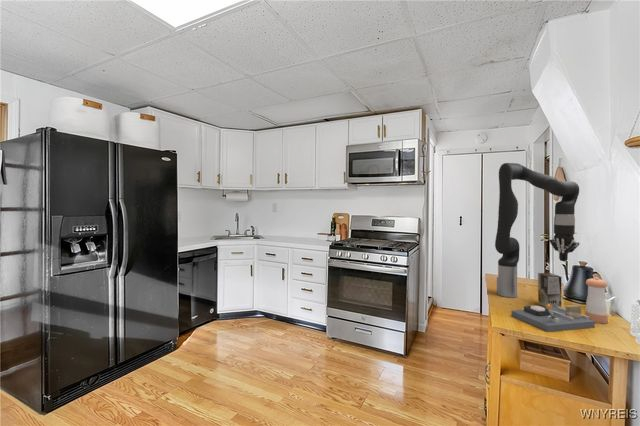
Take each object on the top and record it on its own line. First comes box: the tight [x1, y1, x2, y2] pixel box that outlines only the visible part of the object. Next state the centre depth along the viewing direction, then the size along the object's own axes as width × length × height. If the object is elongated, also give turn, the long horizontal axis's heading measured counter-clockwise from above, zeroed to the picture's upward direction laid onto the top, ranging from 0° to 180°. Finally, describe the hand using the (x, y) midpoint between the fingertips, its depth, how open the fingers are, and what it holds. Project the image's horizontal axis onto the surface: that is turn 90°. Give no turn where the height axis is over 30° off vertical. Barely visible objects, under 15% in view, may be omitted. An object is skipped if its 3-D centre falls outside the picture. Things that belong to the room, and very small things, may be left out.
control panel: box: [511, 305, 596, 333], centre depth 129 cm, size 18×23×4 cm
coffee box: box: [537, 272, 562, 308], centre depth 149 cm, size 9×6×16 cm
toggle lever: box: [545, 304, 555, 319], centre depth 122 cm, size 2×2×6 cm
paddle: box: [565, 304, 582, 318], centre depth 126 cm, size 2×6×5 cm, turn 100°
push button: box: [530, 305, 546, 311], centre depth 132 cm, size 5×5×2 cm
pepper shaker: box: [584, 276, 609, 324], centre depth 129 cm, size 7×7×19 cm
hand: (563, 260), depth 137 cm, fingers closed
